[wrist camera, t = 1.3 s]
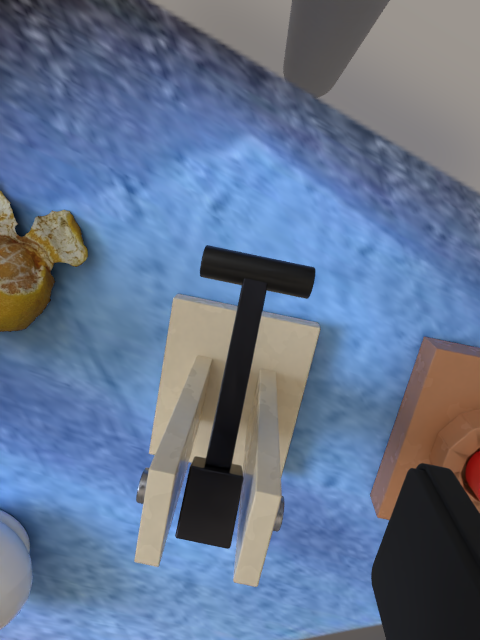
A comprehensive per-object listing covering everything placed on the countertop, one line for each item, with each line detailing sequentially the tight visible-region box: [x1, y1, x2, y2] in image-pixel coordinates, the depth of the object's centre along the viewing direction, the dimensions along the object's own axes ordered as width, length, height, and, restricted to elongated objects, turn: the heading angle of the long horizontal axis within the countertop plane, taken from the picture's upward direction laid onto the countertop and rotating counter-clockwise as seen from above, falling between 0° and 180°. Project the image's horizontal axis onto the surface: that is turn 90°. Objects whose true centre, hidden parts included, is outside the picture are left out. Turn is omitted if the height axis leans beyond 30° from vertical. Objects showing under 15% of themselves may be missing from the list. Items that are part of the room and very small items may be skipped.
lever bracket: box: [134, 294, 320, 587], centre depth 23 cm, size 11×9×13 cm
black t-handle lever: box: [175, 245, 315, 549], centre depth 19 cm, size 12×5×2 cm, turn 169°
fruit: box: [0, 191, 88, 332], centre depth 26 cm, size 8×8×4 cm
